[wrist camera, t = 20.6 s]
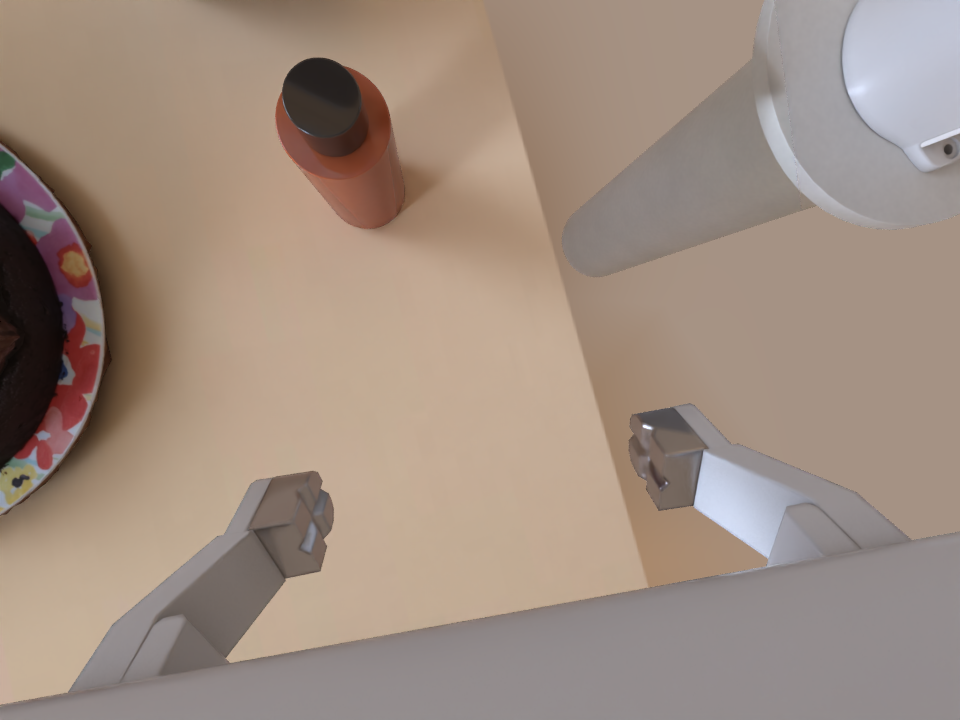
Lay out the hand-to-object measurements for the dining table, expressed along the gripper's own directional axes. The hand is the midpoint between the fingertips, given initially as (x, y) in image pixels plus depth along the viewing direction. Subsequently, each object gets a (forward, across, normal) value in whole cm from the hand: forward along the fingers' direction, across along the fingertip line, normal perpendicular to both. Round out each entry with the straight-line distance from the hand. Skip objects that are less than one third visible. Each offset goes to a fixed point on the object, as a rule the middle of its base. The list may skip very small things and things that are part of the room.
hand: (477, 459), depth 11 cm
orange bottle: (+22, +5, -5) cm, 24 cm away
